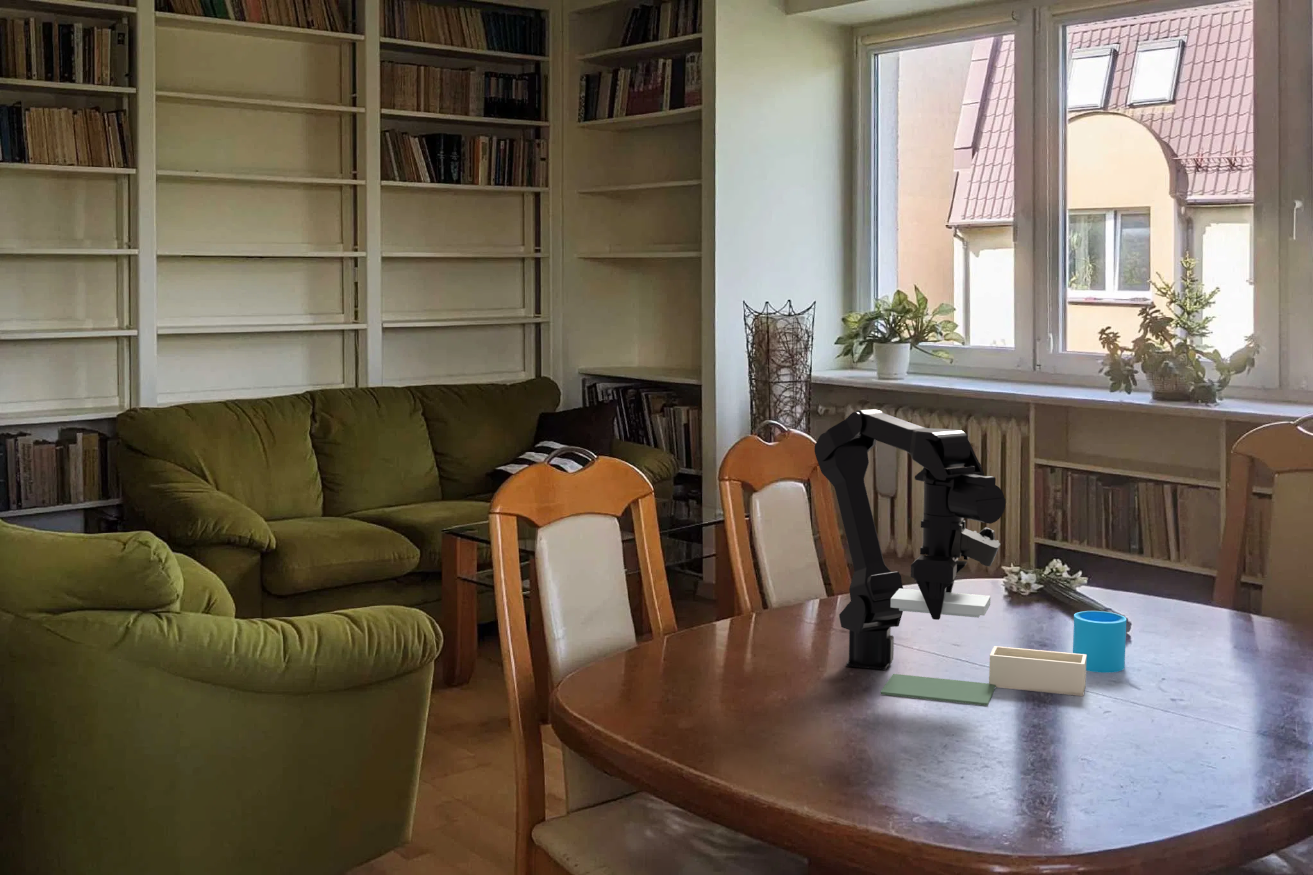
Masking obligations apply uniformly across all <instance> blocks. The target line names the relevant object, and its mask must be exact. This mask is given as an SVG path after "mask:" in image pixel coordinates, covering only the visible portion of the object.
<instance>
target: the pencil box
mask: <svg viewBox="0 0 1313 875" xmlns="http://www.w3.org/2000/svg"><path fill="white" fill-rule="evenodd" d="M1086 657H1087V655H1086V654H1075V653H1073V652H1064V651H1063V652H1062V651H1053V650H1041V649H1032V648H1031V649H1029V648H1021V647H1020V648H1018V647H1009V646H997V645H994V646H993V647H992V649H991V652H990V654H989V670H988V671H989V672H988V675H989V676H988V683H989V684H993V685H996V687H995V688H999V689H1000V688H1001V689H1009V690H1018V691H1019V690H1020V691H1029V692H1039V693H1049V694H1058V695H1059V694H1060V695H1065V696H1067V695H1068V696H1077V697H1084V695H1085V690H1086V682H1087V681H1086V679H1087V677H1086V676H1087V671H1086Z"/></svg>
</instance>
